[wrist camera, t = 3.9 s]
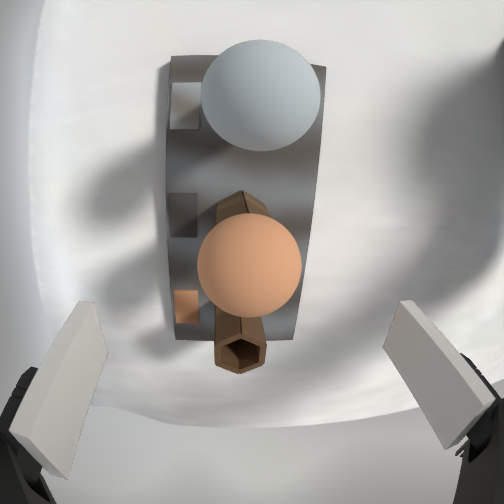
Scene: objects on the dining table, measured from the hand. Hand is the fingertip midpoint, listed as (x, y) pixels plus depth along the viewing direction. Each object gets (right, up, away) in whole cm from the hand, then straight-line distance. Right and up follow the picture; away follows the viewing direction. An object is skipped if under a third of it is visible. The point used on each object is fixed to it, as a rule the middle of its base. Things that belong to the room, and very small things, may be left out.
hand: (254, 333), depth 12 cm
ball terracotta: (-1, +4, +8) cm, 9 cm away
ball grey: (0, +12, +4) cm, 13 cm away
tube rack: (-1, +7, +15) cm, 17 cm away
